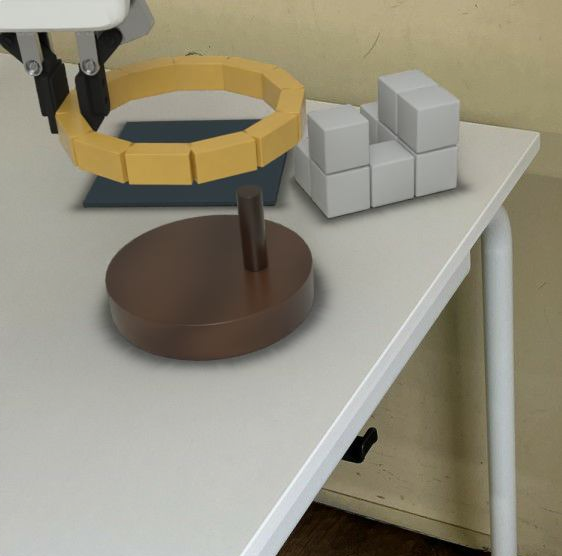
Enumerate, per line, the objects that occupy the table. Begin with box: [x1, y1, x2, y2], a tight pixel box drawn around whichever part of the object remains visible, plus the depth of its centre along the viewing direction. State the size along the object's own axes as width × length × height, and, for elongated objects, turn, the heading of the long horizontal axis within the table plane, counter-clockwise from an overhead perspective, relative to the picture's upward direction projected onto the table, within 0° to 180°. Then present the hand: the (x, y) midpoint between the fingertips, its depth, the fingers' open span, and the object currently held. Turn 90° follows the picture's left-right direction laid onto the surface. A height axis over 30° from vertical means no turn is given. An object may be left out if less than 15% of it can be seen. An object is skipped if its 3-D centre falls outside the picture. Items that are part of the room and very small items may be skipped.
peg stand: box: [104, 185, 315, 361], centre depth 73 cm, size 15×15×9 cm
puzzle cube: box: [292, 68, 461, 219], centre depth 87 cm, size 12×12×8 cm
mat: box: [82, 118, 288, 208], centre depth 94 cm, size 17×17×1 cm
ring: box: [55, 55, 307, 185], centre depth 67 cm, size 16×16×2 cm
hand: (78, 123), depth 68 cm, fingers closed on ring, 1 cm apart
